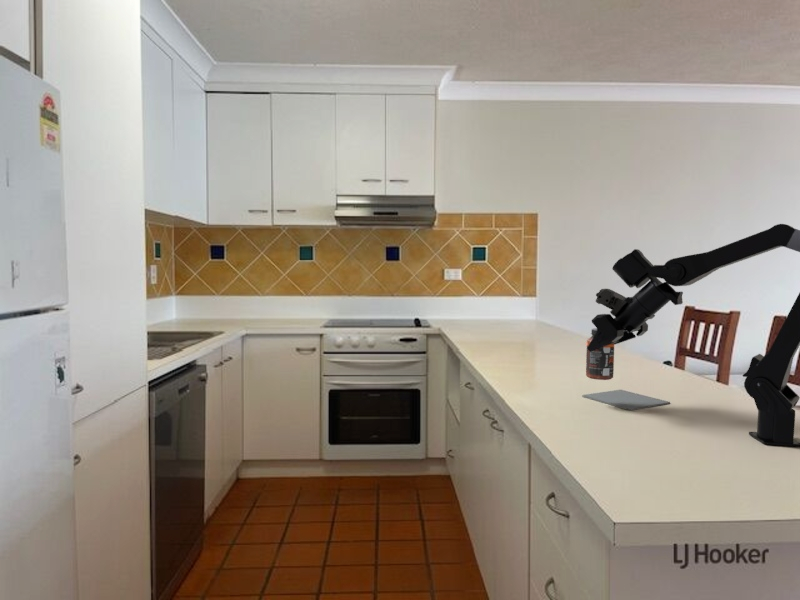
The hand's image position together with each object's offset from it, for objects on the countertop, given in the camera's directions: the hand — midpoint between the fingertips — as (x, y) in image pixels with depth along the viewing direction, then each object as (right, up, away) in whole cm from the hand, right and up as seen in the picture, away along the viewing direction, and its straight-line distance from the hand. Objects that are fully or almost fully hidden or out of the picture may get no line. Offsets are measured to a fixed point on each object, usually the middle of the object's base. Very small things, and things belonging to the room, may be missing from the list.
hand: (594, 348), depth 126 cm
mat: (+10, -13, +6) cm, 17 cm away
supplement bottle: (+1, -7, 0) cm, 7 cm away
